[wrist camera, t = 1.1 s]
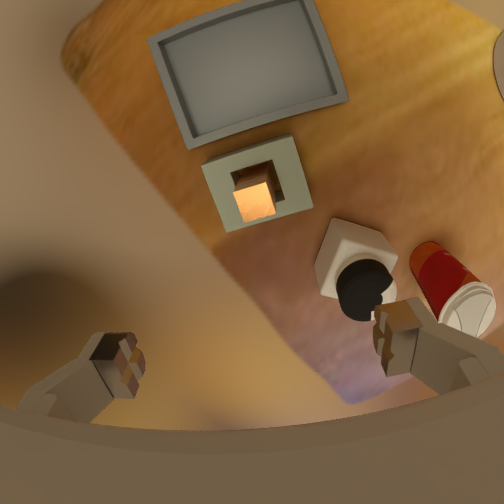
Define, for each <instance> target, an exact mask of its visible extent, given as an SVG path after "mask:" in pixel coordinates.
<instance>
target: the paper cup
mask: <svg viewBox="0 0 504 504" xmlns="http://www.w3.org/2000/svg"><path fill="white" fill-rule="evenodd" d="M410 269H411V271H412V273H413V275H414V277H415V279H416V281H417V283H418V285H419V286H420V288H421V290H422V292H423V294H424V296H425V298H426V299H427V301H428V303H429V305H430V307H431V309H432V311H433V313H434V315H435V317H436V319H437V321H438V324H439V323H443V324H446V325H448V326H450V327H453V328H455V329H457V330H459V331H462V332H464V333H466V334H469V335H471V336H473V337H478V336H479V335H480V334H481V333H483V332H484V331H485V330H486V328H487V327H488V326H489V324H490V323H491V321H492V319H493V317H494V315H495V311H496V302H495V299H494V293H493V291H492V289H491V287H490V286H489V285H487V284H485V283H482V282H481V281H480V280H479V279H477V278H476V277H475V276H474V275H473V274H472V273H471V272H470V271H469V270H468V269H467V268H466V267H465V266H463V265H462V264H461V263H460V262H459V261H458V260H457V259H456V258H454V257H453V256H452V255H451V254H450V253H449V252H448V251H446V250H445V249H444V248H443V247H441V246H440V245H439V244H437V243H435V242H425V243H422V244H421V245H419V246H418V247H417V248H416V249H415V250H414V251H413V253H412V255H411V257H410Z"/></svg>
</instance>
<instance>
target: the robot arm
mask: <svg viewBox="0 0 504 504" xmlns="http://www.w3.org/2000/svg"><path fill="white" fill-rule="evenodd" d="M494 71H495V76H496V80H497V84H498V87H499V90H500V92H501V95H502V97H503V99H504V30H503V32H502V33H501V34H500V36H499V37H498V39H497V41H496V44H495V48H494ZM374 318H375V320H376V322H377V323H376V324H375V325H374V326H373V343H374V347H375V350H376V353H377V354H378V355H380V356H381V365H382V367H383V370H384V372H385V375H386V377H389V376H394V375H399V374H404V373H408V372H411V374H412V375H414V376H415V377H416V378H418V379H419V380H420V381H422V382H423V383H425V384H426V385H427V386H429V387H430V388H431V389H433V390H434V391H435V392H437V393H438V394H439V396H436V397H432V398H429V399H425V400H422V401H418V402H414V403H411V404H407V405H403V406H399V407H395V408H391V409H387V410H382V411H378V412H373V413H368V414H363V415H358V416H353V417H347V418H342V419H336V420H330V421H323V422H316V423H308V424H300V425H291V426H281V427H270V428H258V429H243V430H242V429H241V430H214V431H213V430H211V431H186V430H184V431H183V430H155V429H140V428H127V427H116V426H107V425H99V424H92V423H90V422H91V421H92V420H93V419H94V418H95V417H96V416H97V415H98V414H99V413H100V412H101V411H102V410H103V409H105V408H106V406H108V405H109V404H110V403H111V402H112V401H113V400H114V399H113V398H120V399H121V398H122V399H134V398H135V396H136V393H137V390H138V388H139V383H138V380H139V379H140V378H141V377H143V374H144V372H145V359H144V356H143V353H142V351H141V350H140V349H138V348H137V347H136V344H137V339H136V337H135V335H134V334H133V333H131V332H100V333H94V334H93V335H92V337H91V338H90V340H89V341H88V343H87V344H86V346H85V348H84V349H83V351H82V352H81V354H80V355H79V357H78V358H77V360H72V361H71V362H69V363H68V364H66V365H65V366H63V367H62V368H60V369H58V370H57V371H55V372H54V373H52V374H51V375H49V376H48V377H46V378H45V379H43V380H42V381H40V382H38V383H37V384H35V385H34V386H32V387H31V388H29V389H28V390H27V392H26V393H25V395H24V397H23V398H22V399H21V401H20V403H19V404H18V406H17V407H16V409H14V408H10V407H6V406H2V405H0V504H504V355H503V354H502V353H501V351H500V350H499V349H498V347H496V346H494V345H491V344H489V343H487V342H485V341H482V340H480V339H478V338H475V337H473V336H471V335H469V334H466V333H464V332H462V331H459V330H457V329H455V328H453V327H450V326H448V325H446V324H443V323H439V324H438V323H437V322H436V320H435V319H434V317H433V316H432V315H431V313H430V312H429V311H428V309H427V308H426V306H425V305H424V304H423V302H422V301H421V300H420V298H418V297H414V298H409V299H405V300H402V301H397V302H392V303H386V304H381V305H376V306H375V309H374Z"/></svg>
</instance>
